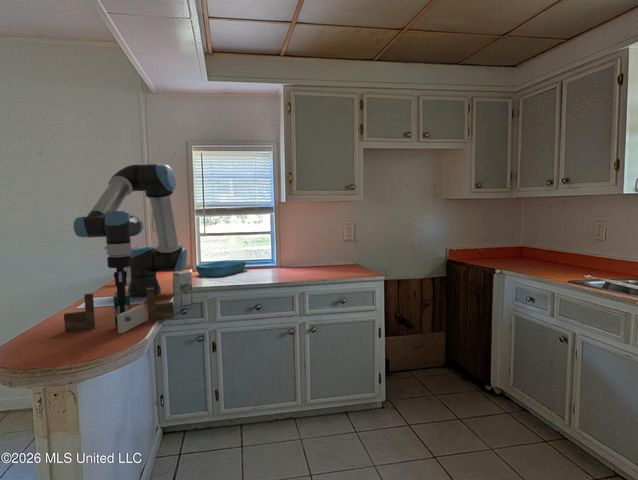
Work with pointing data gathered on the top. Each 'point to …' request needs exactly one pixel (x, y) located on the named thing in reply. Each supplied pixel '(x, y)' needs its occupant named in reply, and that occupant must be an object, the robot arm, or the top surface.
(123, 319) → the gate
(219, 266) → the casserole dish
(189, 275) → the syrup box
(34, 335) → the top surface
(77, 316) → the partition
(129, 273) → the pale grey tall block
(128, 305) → the soda can
